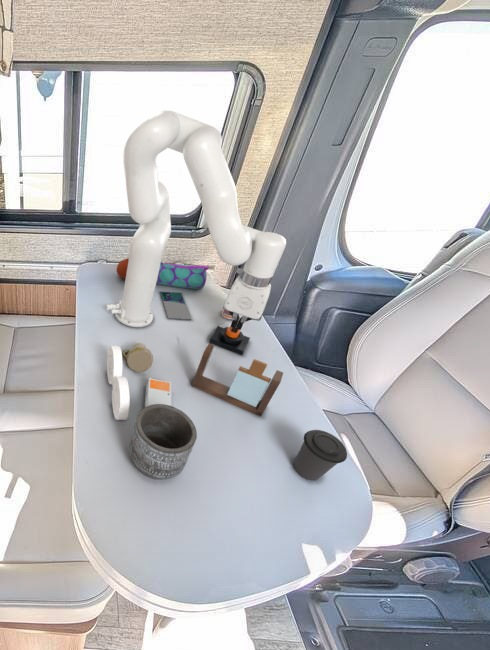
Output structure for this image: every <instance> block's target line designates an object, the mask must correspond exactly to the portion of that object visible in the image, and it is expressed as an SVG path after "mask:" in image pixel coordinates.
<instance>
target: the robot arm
mask: <svg viewBox="0 0 490 650" xmlns="http://www.w3.org/2000/svg"><path fill="white" fill-rule="evenodd" d="M222 146H223V137H222V134H221V132H220V131H219V130H218V128H216V127H215V126H213V125H210V124H208V123H206V122H202V121H199V120H197V119H194V118H191V117H189V116H186V115H184V114H181V113H178V112H176V111H173V110H161V111H158V112H156V113H155V114H154V115H152V116H149V118H147V119H146V120H145V121H143V122H142V123H141V124H139V126H137V127H136V128H135V129H134V130H133V131H132V133H131V134H130V135H129V137H127V140H126V142H125V145H124V146H123V147H124V148H123V153H122V160H123V161H122V162H123V170H124V177H125V188H126V197H127V204H128V212H129V215H130V217H131V219H132V220H133V221H134V222H136V223H137V224H139V227H138V229H136V231H135V233H134V234H133V236H132V238H131V241H130V243H129V249H128V258H129V261H128V267H127V273H126V280H125V279H124V280H125V281H124V285H123V286H124V287H123V291H122V297H121V299H120V300H118V302H117V303H115V304H112V303H110V304H108V303H107V304H105V307H106V308H105V309H106V311H110V312H111V314H113V315H114V317H115V318H116V320H118V322H119V323H121V324H123V325H126V326H128V327H132V328H143V327H147V326H149V325H150V324H152V322H153V319H154V313H153V311H152V310H151V307H152V303H153V298H154V295H155V291H156V286H157V283H156V282H157V277H158V273H159V269H160V263H161V261H162V259H163V254H164V251H165V249H166V246H167V244H168V241H169V239H170V237H171V234H172V222H171V221H172V220H171V210H170V209H171V208H170V198H169V197H170V196H169V192H168V189H167V188H166V186H165V185H164V183H162V182H161V181H159V173H158V172H159V171H158V166H157V162H156V161H157V157H158V155H159V154H160V153H162V152H164V151H166V150H167V149H171V150H173V151H175V152H178V153H181V154H182V156H183V160H184V163H185V165H186V167H187V170H188V173H189V175H190V177H191V180H192V182H193V186H194V187H195V190H196V193H197V195H198V198H199V200H200V203H201V206H202V211H203V214H204V218H205V221H206V224H207V228H208V231H209V234H210V238H211V240H212V242H213V245H214V247H215V250H216V253H217V255H218V256H219V258H220V260H221V261H222V262H223V263H225V264H226V265H228V266H240V265H243V264H244V266H243V267H242V268H239V267H237V269H236V271H235V273H236V274H238V276H237V277H236V278H235V280H234V282H233V283H232V285H231V287H230V290H229V292H228V293H227V296H226V299H225V301H224V305H223V306H222V310H223V309H225V310H226V311H229V313H230V314H231V316H232V319H231V320H232V321H231V323H230V326H229V327H232V330H231V331H232V332H235V333H237V331H238V330H239V331H241V330H242V327H243V325H244V324H245V323H246V322H249V321H257V322H260V321H261V320H262V319H263V313H264V312H265V309H266V306H267V304H268V300H269V298H270V294H271V288H272V284H271V281H272V279H273V277H274V274H275V272H276V270H277V267H278V265H279V263H280V261H281V258H282V256H283V253H284V251H285V249H286V247H287V240H286V238H285V237H284V236H283V235H282V234H279V233H277V232H272V231H262V230H259V229H255V228H253V227H250V226H247V225H245V224H242V221H241V216H240V213H239V207H238V193H237V187H236V184H235V181H234V178H233V176H232V173H231V170H230V167H229V164H228V162H227V160H226V156H225V154H224V152H223V148H222ZM240 316H241V317H240ZM234 330H235V331H234Z"/></svg>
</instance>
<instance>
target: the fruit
mask: <svg viewBox="0 0 490 650" xmlns="http://www.w3.org/2000/svg"><path fill="white" fill-rule="evenodd" d="M128 261H129V257H127V258H124V259H122V260H120V261H119V262H118V264H117V266H116V273H117V276H118V277H120V278H121V279H123V280H126V273H127V267H128Z"/></svg>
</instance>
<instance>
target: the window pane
mask: <svg viewBox="0 0 490 650" xmlns="http://www.w3.org/2000/svg"><path fill="white" fill-rule="evenodd" d="M267 366H268V364H267V363H265V362H263V361H260V360H258V359H255V358H254V359H253V361H252V363H251V364H250V366H249V368H247V367H244V366H239V367H238V369H237V372H236V374H235V376H234V379H233V381H232V383H231V385H230V389H229V391H228V394H227V395H229V396H231V397H233V398H236V399H238V400H240V401H242V402H245V403H247V404H249V405H252V406H254V407H256V406H257V404H258V402H259V401H260V400H261V398H262V395H264V394H263V393H265V392H264V391H266V389H267V387H268V385H269V384H270V383H269V382H271V381H270V380H272V378H271V377H268V376H266V375H263V374H264V372H265V371H266V368H267ZM265 376H266V377H265ZM270 378H271V379H270Z"/></svg>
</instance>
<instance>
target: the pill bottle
mask: <svg viewBox="0 0 490 650" xmlns="http://www.w3.org/2000/svg"><path fill="white" fill-rule="evenodd" d="M221 316H222V318H224V319H227V320H233V319H232V316H231V314H230V313H229V311H226V310H225V309H223V308H222V310H221Z"/></svg>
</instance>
